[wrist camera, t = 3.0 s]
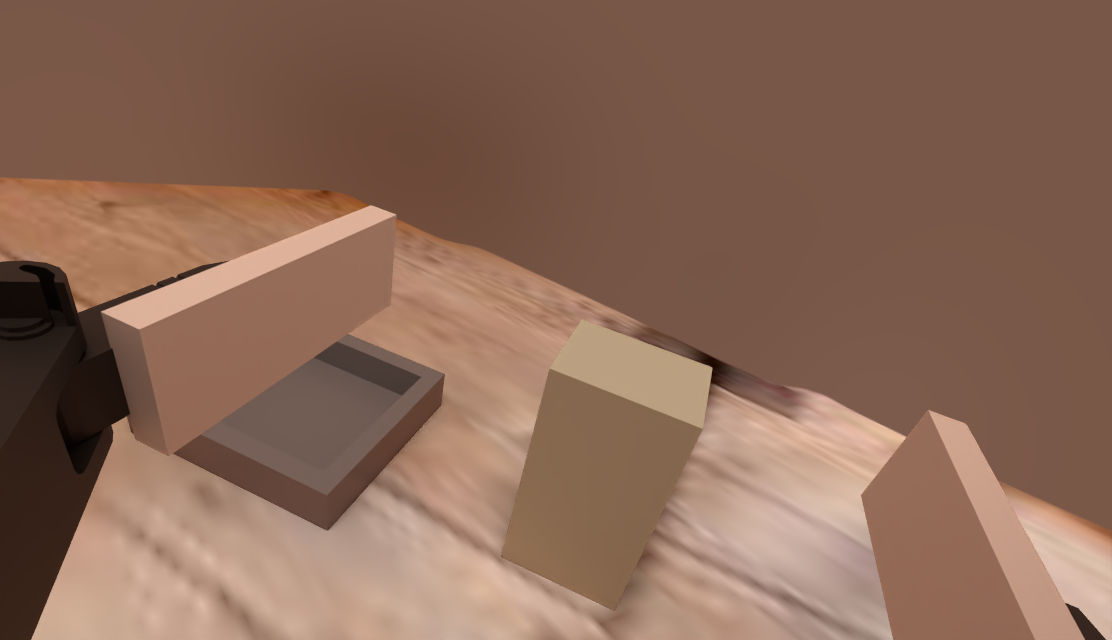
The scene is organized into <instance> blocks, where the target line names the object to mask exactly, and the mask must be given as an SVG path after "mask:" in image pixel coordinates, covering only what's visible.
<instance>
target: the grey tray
mask: <svg viewBox="0 0 1112 640" xmlns="http://www.w3.org/2000/svg"><path fill="white" fill-rule="evenodd" d="M444 377H445V374H443V373H441V372H438V371H436V370H433V369H431V368H429V367H426V366H424V365H421V364H419V363H416V362H414V361H412V360H409V359H407V358H404V357H402V356H400V355H397V354H395V353H392V352H390V351H387V350H385V349H383V348H380V347H378V346H375V345H373V344H371V343H368V342H366V341H363V340H361V339H358V338H356V337H354V336H351V335H349V334H347V335H346V336H344V337H343V338H341V339H340V340H338V341H337V342H335V343H334V344H332V345H331V346H329V347H328V348H327V349H325V350H324V351H322V352H321V353H319V354H318V355H316V356H315V357H313V358H312V359H310V360H309V361H307V362H306V363H305V364H303V365H302V366H300V367H299V368H297V369H296V370H294V371H293V372H291V373H290V374H288V375H287V376H285V377H284V378H283V379H281V380H280V381H278V382H277V383H275V384H274V385H272V386H271V387H269V388H268V389H266V390H265V391H264V392H262V393H261V394H259V395H258V396H256V397H255V398H253V399H252V400H250V401H249V402H247V403H246V404H244V405H243V406H242V407H240V408H239V409H237V410H236V411H234V412H233V413H231V414H230V415H228V416H227V417H225V418H224V419H222V420H221V421H220V422H218V423H217V424H215V425H214V426H212V427H211V428H209V429H208V430H206V431H205V432H203V433H202V434H200V435H199V436H198V437H196V438H195V439H193V440H192V441H190V442H189V443H187V444H186V445H184V446H183V447H181V448H180V449H178V450H177V451H176V452H174V454H176V455H178V456H180V457H182V458H184V459H186V460H188V461H190V462H192V463H194V464H196V465H198V466H200V467H202V468H204V469H206V470H208V471H210V472H212V473H214V474H216V475H218V476H220V477H222V478H224V479H226V480H228V481H230V482H232V483H234V484H236V485H238V486H240V487H242V488H244V489H246V490H248V491H250V492H252V493H254V494H256V495H258V496H260V497H262V498H264V499H266V500H268V501H270V502H272V503H274V504H276V505H278V506H280V507H282V508H284V509H286V510H288V511H290V512H292V513H294V514H296V515H298V516H300V517H302V518H304V519H306V520H308V521H310V522H312V523H314V524H316V525H318V526H320V527H322V528H324V529H326V530H328V529H329V528H330V527H331V526H332V525H333V524H334V523H335V522H336V521H337V520H338V518H339V517H340V516H341V515H342V514H343V513H344V512H345V511H346V510H347V508H348V507H349V506H350V505H351V504H352V503H353V502H354V501H355V500H356V498H357V497H358V496H359V495H360V494H361V493H362V492H363V491H364V490H365V488H366V487H367V486H368V485H369V484H370V483H371V482H372V481H373V480H374V478H375V477H376V476H377V475H378V474H379V473H380V472H381V471H382V470H383V469H384V467H385V466H386V465H387V464H388V463H389V462H390V461H391V460H392V459H393V457H394V456H395V455H396V454H397V453H398V452H399V451H400V450H401V449H402V447H403V446H404V445H405V444H406V443H407V442H408V441H409V440H410V439H411V437H412V436H413V435H414V434H415V433H416V432H417V431H418V430H419V429H420V427H421V426H422V425H423V424H424V423H425V422H426V421H427V420H428V419H429V418H430V416H431V415H432V414H433V413H434V412H435V411H436V410H437V409H438V408H439V406H440V405H441V401H442V393H443V385H444ZM127 419H128V422H129V425H130V429H131V432H132V433H134V432H133V428H132V425H131V421H130V417H129V415H128V416H127Z"/></svg>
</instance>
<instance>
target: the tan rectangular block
mask: <svg viewBox="0 0 1112 640" xmlns="http://www.w3.org/2000/svg"><path fill="white" fill-rule="evenodd" d="M711 374H712V367H709V366H707V365H704V364H701V363H698V362H696V361H693V360H690V359H688V358H685V357H682V356H680V355H677V354H674V353H671V352H669V351H666V350H663V349H661V348H658V347H655V346H653V345H650V344H647V343H644V342H642V341H639V340H636V339H634V338H631V337H628V336H626V335H623V334H620V333H617V332H615V331H612V330H609V329H607V328H604V327H601V326H599V325H596V324H593V323H591V322H588V321H585V320H581V322H580V323H579V325H578V326H577V328H576V329H575V331H574V332H573V334H572V335H571V337H570V338H569V340H568V341H567V343H566V344H565V346H564V347H563V349H562V350H561V352H560V353H559V355H558V356H557V358H556V359H555V361H554V362H553V364H552V365H551V367H550V369H549V372H548V376H547V380H546V384H545V388H544V392H543V396H542V400H541V404H540V407H539V411H538V415H537V419H536V423H535V427H534V431H533V435H532V439H531V443H530V446H529V450H528V454H527V458H526V462H525V466H524V470H523V474H522V478H521V481H520V485H519V489H518V493H517V497H516V501H515V505H514V509H513V513H512V517H511V520H510V524H509V528H508V532H507V536H506V540H505V544H504V548H503V552H502V555H501V557H503V558H505V559H507V560H509V561H511V562H513V563H515V564H517V565H520V566H522V567H524V568H526V569H528V570H530V571H532V572H534V573H536V574H538V575H541V576H543V577H545V578H547V579H549V580H551V581H553V582H555V583H557V584H559V585H562V586H564V587H566V588H568V589H570V590H572V591H574V592H576V593H578V594H581V595H583V596H585V597H587V598H589V599H591V600H593V601H595V602H597V603H599V604H602V605H604V606H606V607H608V608H610V609H612V610H615V608H616V606H617V604H618V602H619V600H620V598H621V596H622V594H623V592H624V590H625V588H626V585H627V583H628V581H629V579H630V577H631V575H632V573H633V571H634V569H635V567H636V565H637V563H638V561H639V559H640V557H641V555H642V553H643V551H644V549H645V546H646V544H647V542H648V540H649V538H650V536H651V534H652V532H653V530H654V528H655V526H656V524H657V522H658V520H659V518H660V516H661V514H662V512H663V510H664V507H665V505H666V503H667V501H668V499H669V497H670V495H671V493H672V491H673V489H674V487H675V485H676V483H677V481H678V479H679V477H680V475H681V473H682V471H683V468H684V466H685V464H686V462H687V460H688V458H689V456H690V454H691V452H692V450H693V448H694V446H695V444H696V442H697V440H698V438H699V436H700V434H701V432H702V429H703V425H704V418H705V412H706V405H707V399H708V393H709V386H710V380H711Z"/></svg>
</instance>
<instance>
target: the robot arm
mask: <svg viewBox="0 0 1112 640" xmlns="http://www.w3.org/2000/svg"><path fill="white" fill-rule="evenodd" d="M395 229H396V214H393V213H390V212H388V211H385V210H382V209H380V208H377V207H374V206H368V207H366V208H363V209H361V210H358V211H356V212H353V213H351V214H348V215H345V216H343V217H340V218H338V219H335V220H333V221H330V222H328V223H325V224H323V225H320V226H318V227H315V228H312V229H310V230H307V231H305V232H302V233H300V234H297V235H295V236H292V237H290V238H287V239H284V240H282V241H279V242H277V243H274V244H272V245H269V246H267V247H264V248H262V249H259V250H256V251H254V252H251V253H249V254H246V255H244V256H241V257H239V258H236V259H234V260H231V261H225V262H220V263H214V264H208V265H202V266H199V267H197V268H194V269H192V270H189V271H186V272H184V273H181V274H179V275H177V277H176V278H174V277H171V278H168V279H165V280H163V281H160V282H158V283H157V285H156V286H154V285H150V286H147V287H144V288H142V289H139V290H137V291H134V292H131V293H129V294H126V295H124V296H121V297H118V298H116V299H113V300H110V301H108V302H105V303H103V304H100V305H97V306H95V307H92V308H90V309H87V310H84V311H82V312H79V313H77V309H76V306H75V303H74V299H73V296H72V293H71V289H70V286H69V283H68V279H67V276H66V274H65V273H64V272H63V271H62V270H61V269H60V268H59V267H56V266H54V265H51V264H48V263H43V262H33V261H6V262H0V640H31V639H32V636H33V634H34V631H35V629H36V626H37V624H38V621H39V619H40V617H41V614H42V612H43V609H44V607H45V604H46V602H47V600H48V597H49V595H50V592H51V590H52V587H53V585H54V583H55V580H56V578H57V575H58V573H59V570H60V568H61V566H62V563H63V561H64V558H65V556H66V553H67V551H68V549H69V546H70V544H71V541H72V539H73V536H74V534H75V532H76V529H77V527H78V524H79V522H80V519H81V517H82V515H83V512H84V510H85V507H86V505H87V502H88V500H89V497H90V495H91V493H92V490H93V488H94V485H95V483H96V480H97V478H98V476H99V473H100V471H101V468H102V466H103V463H104V461H105V459H106V456H107V454H108V451H109V449H110V446H111V444H112V442H113V430H112V426H111V425H112V424H114V423H116V422H117V421H119V420H121V419H122V418H124V417H126V416H128V415H129V417H130V421H131V425H132V428H133V432H134V436H135V439H136V440H138V441H140V442H142V443H144V444H146V445H148V446H150V447H152V448H153V449H155V450H157V451H159V452H161V453H163V454H165V455H167V456H170V455H171V454H173V453H174V452H176V451H177V450H178V449H180V448H181V447H183V446H184V445H186V444H187V443H189V442H190V441H192V440H193V439H195V438H196V437H198V436H199V435H200V434H202V433H203V432H205V431H206V430H208V429H209V428H211V427H212V426H214V425H215V424H217V423H218V422H220V421H221V420H222V419H224V418H225V417H227V416H228V415H230V414H231V413H233V412H234V411H236V410H237V409H239V408H240V407H242V406H243V405H244V404H246V403H247V402H249V401H250V400H252V399H253V398H255V397H256V396H258V395H259V394H261V393H262V392H264V391H265V390H266V389H268V388H269V387H271V386H272V385H274V384H275V383H277V382H278V381H280V380H281V379H283V378H284V377H285V376H287V375H288V374H290V373H291V372H293V371H294V370H296V369H297V368H299V367H300V366H302V365H303V364H305V363H306V362H307V361H309V360H310V359H312V358H313V357H315V356H316V355H318V354H319V353H321V352H322V351H324V350H325V349H327V348H328V347H329V346H331V345H332V344H334V343H335V342H337V341H338V340H340V339H341V338H343V337H344V336H346V335H347V334H349V333H350V332H351V331H353V330H354V329H356V328H357V327H359V326H360V325H362V324H363V323H365V322H366V321H368V320H369V319H371V318H372V317H373V316H375V315H376V314H378V313H379V312H381V311H382V310H384V309H385V308H387V307H388V306H390V304H391V289H392V274H393V259H394V244H395ZM861 497H862V502H863V506H864V511H865V515H866V520H867V524H868V528H869V533H870V537H871V542H872V546H873V551H874V555H875V560H876V564H877V568H878V573H879V577H880V582H881V586H882V591H883V595H884V600H885V604H886V608H887V613H888V617H889V622H890V626H891V631H892V635H893V640H1106V639H1105V638H1104V637H1103V636H1102V635H1101V633H1100V632H1099V631H1098V630H1097V629H1096V628H1095V627H1094V626H1093V624H1092V623H1091V622H1090V621H1089V620H1088V619H1087V618H1086V616H1085V615H1084V614H1083V613H1082V612H1081V611H1080V610H1079V609H1078V608H1076V607H1074V606H1071V605H1069V604H1067V603H1065V602H1064V601H1063V599H1062V597H1061V595H1060V593H1059V592H1058V590H1057V588H1056V586H1055V584H1054V582H1053V581H1052V579H1051V577H1050V575H1049V573H1048V572H1047V570H1046V568H1045V566H1044V564H1043V562H1042V561H1041V559H1040V557H1039V555H1038V553H1037V552H1036V550H1035V548H1034V546H1033V544H1032V543H1031V541H1030V539H1029V537H1028V535H1027V533H1026V532H1025V530H1024V528H1023V526H1022V524H1021V523H1020V521H1019V519H1018V517H1017V515H1016V513H1015V512H1014V510H1013V508H1012V506H1011V504H1010V503H1009V501H1008V499H1007V497H1006V495H1005V494H1004V492H1003V490H1002V488H1001V486H1000V484H999V483H998V481H997V479H996V477H995V476H994V474H993V472H992V470H991V468H990V466H989V464H988V463H987V461H986V459H985V457H984V455H983V454H982V452H981V450H980V448H979V446H978V444H977V443H976V441H975V439H974V437H973V436H972V434H971V432H970V430H969V428H968V426H967V425H966V424H965V423H962V422H959V421H957V420H954V419H951V418H948V417H946V416H943V415H940V414H937V413H935V412H932V411H929V410H928V411H927V412H926V413H925V415H924V416H923V417H922V419H921V420H920V421H919V422H918V424H917V425H916V426H915V427H914V429H913V430H912V431H911V433H910V434H909V435H908V436H907V438H906V439H905V440H904V441H903V443H902V444H901V445H900V446H899V448H898V449H897V450H896V452H895V453H894V454H893V455H892V457H891V458H890V459H889V460H888V462H887V463H886V464H885V465H884V467H883V468H882V469H881V471H880V472H879V473H878V474H877V476H876V477H875V478H874V479H873V481H872V482H871V483H870V484H869V486H868V487H867V488H866V490H865V491H864V492H863V493H862V495H861Z"/></svg>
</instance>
